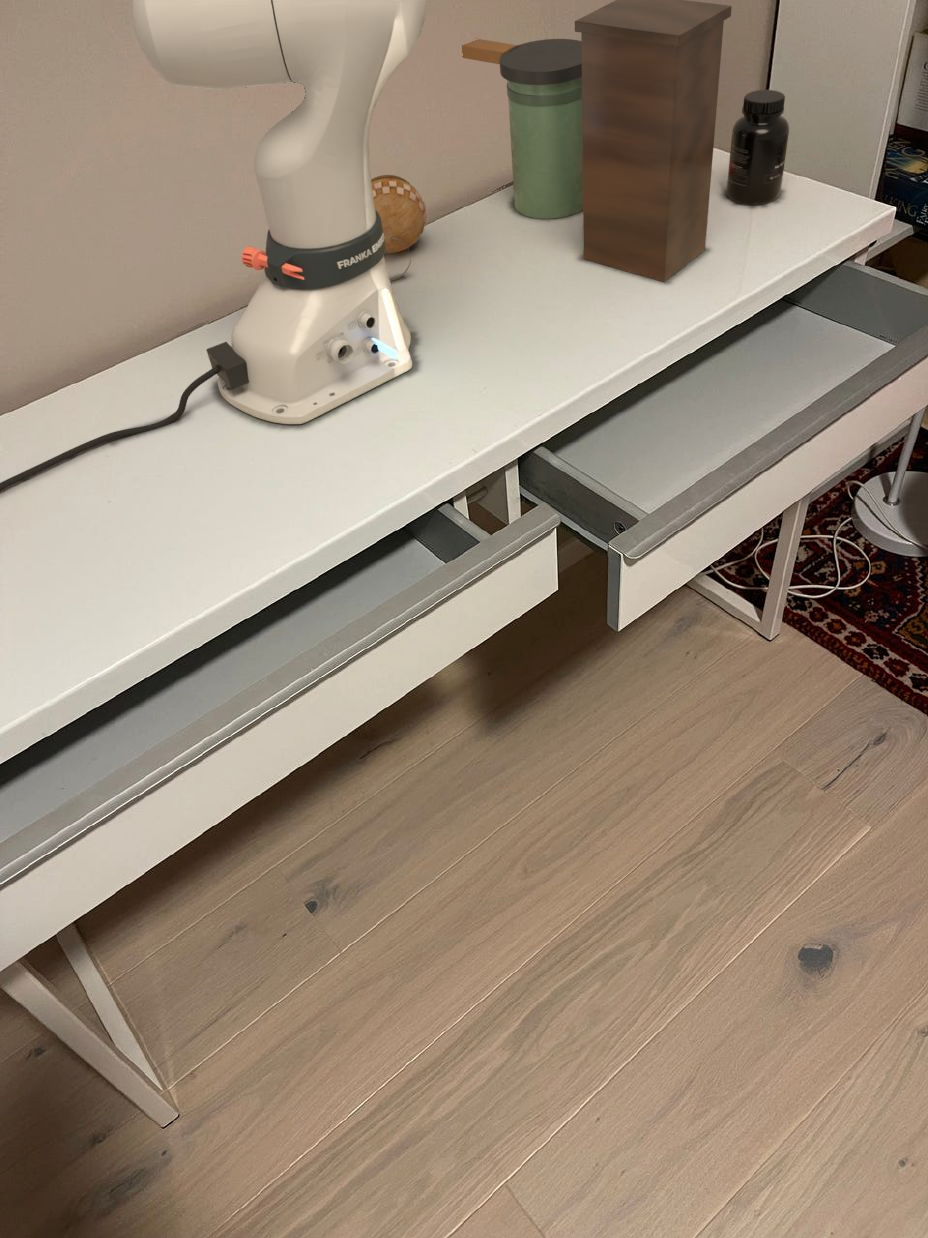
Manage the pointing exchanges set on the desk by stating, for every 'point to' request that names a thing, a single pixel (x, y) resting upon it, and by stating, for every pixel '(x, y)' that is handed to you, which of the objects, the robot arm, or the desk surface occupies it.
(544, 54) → the lid
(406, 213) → the toy
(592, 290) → the desk surface
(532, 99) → the tin
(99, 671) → the desk surface
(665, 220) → the stand
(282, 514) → the desk surface
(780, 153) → the supplement bottle
